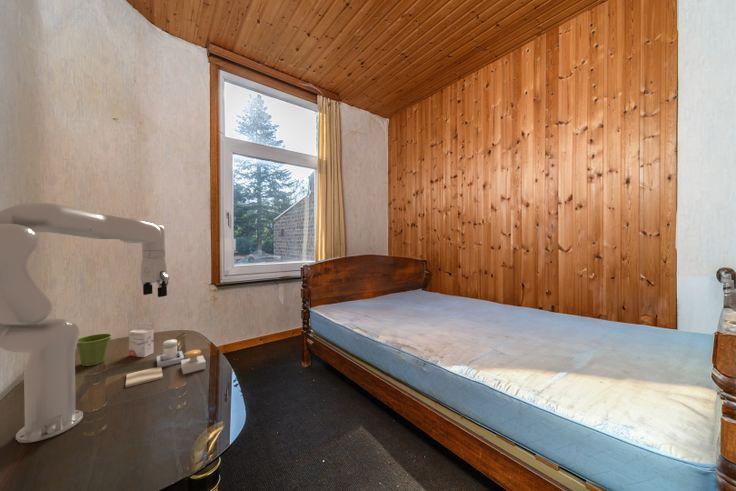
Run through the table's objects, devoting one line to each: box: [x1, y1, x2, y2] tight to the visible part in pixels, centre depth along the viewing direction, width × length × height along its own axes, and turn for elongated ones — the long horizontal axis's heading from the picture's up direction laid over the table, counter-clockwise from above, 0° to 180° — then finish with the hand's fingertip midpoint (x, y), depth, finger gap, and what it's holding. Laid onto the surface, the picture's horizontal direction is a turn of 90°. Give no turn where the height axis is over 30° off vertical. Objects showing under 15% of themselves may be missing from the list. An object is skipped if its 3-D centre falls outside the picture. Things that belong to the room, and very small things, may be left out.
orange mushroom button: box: [184, 349, 202, 363], centre depth 115 cm, size 6×6×4 cm
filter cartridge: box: [162, 339, 178, 361], centre depth 121 cm, size 5×5×9 cm
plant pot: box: [76, 333, 113, 367], centre depth 118 cm, size 12×12×11 cm
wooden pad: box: [124, 366, 164, 388], centre depth 107 cm, size 11×11×1 cm
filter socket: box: [156, 350, 185, 368], centre depth 121 cm, size 9×9×2 cm
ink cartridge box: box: [128, 322, 155, 358], centre depth 127 cm, size 9×5×15 cm, turn 84°
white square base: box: [180, 354, 207, 375], centre depth 115 cm, size 8×8×3 cm
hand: (155, 295), depth 112 cm, fingers open, 9 cm apart
